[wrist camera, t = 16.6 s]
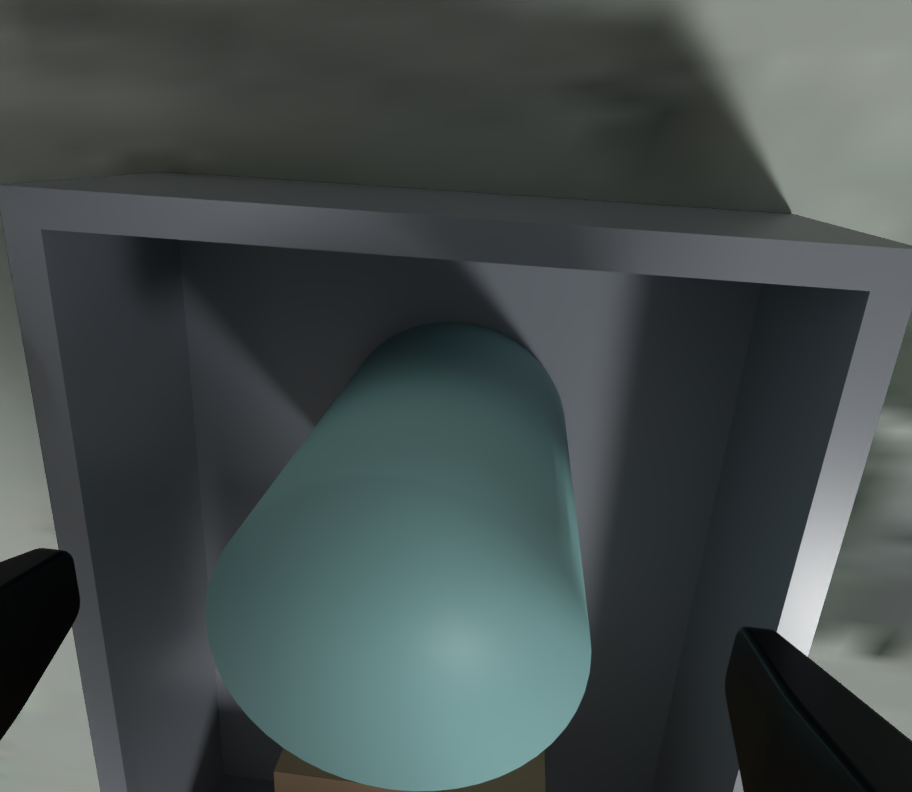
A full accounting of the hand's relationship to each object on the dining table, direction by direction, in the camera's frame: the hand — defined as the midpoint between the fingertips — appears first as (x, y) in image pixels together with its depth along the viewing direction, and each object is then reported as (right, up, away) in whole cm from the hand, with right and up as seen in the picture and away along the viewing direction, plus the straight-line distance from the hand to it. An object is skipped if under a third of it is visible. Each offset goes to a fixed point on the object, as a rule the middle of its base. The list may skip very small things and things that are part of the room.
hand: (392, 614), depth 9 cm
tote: (+1, -1, +8) cm, 8 cm away
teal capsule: (+1, +2, +6) cm, 7 cm away
